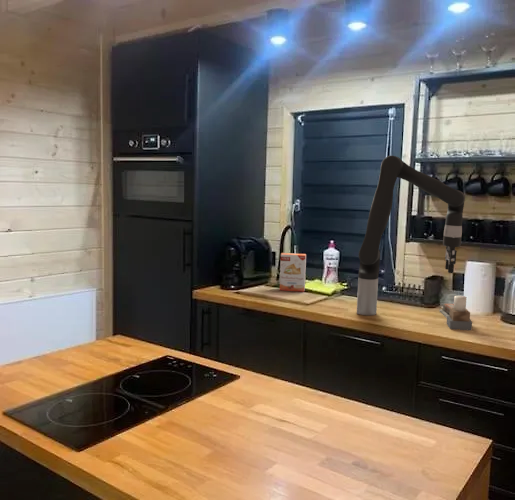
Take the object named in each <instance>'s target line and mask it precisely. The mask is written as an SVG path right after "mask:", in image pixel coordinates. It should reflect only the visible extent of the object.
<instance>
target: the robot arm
mask: <svg viewBox="0 0 515 500" xmlns="http://www.w3.org/2000/svg"><path fill="white" fill-rule="evenodd" d="M380 164H381V165H380V172H379V176H378V177H379V178H378V181H377V182H378V183H377V187H376V189H375V193H374V195H373V199H372V202H371V206H370V210H369V214H368V219H367V223H366V230H365V231H366V232H365V235H364V239H363V241H362V244H361V246H360V249H359V251H358V260H359V268H358V274H357V275H358V276H357V278H358V281H357V294H356V295H357V296H356V297H357V299H356V314H357V315H362V316H375V315H377V308H378V287H379V272H380V263H381V261H380V260H381V252H380V244H381V240H382V236H383V234H384V232H385V230H386V227H387V225H388V222H389V219H390V215H391V213H392V209H393V208H392V207H393V202H394V189H395V185H396V182H397V180H398V179H397V178H399V179H401V180H404V181H406V182H408V183H410V184H412V185H413V186H415V187H417V188H418V189H420V190H422V191H423V192H425V193H427V194H429V195H431V196H432V197H434V198H437V199H439V200H441V201H442V202H444V203H446V204H447V212H446V214H445V215H446V216H445V224H444V228H443V229H444V230H443V237H442V239H443V240H442V245H443V247H445V256H444V260H445V264H444V265H445V266H444V268H445V270H446V271H447V273H448V274H454V269H455V265H456V263H457V262H456V260H457V250H456V248H460V247H461V245H462V233H463V219H464V218H463V216H464V215H463V212H464V207H465V201H466V197H465V196H466V195H465V193H463V192H462V191H461V190H457V189H455V188H452V187H451V186H449V185H446V184H445V182H442V181H440V180H438V179H437V178H434V177H432V176H430V175H428V174H426V173H424V172H422V171H419V170H417V169H415V168H414V167H411V166H410V165H409V164H407V162H404V161H403V160H402V159H401V158H400V157H398V156H396V155H388V156H386V157H384V158H383V160H382V161H381V163H380Z"/></svg>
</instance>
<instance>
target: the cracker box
mask: <svg viewBox="0 0 515 500" xmlns="http://www.w3.org/2000/svg"><path fill="white" fill-rule="evenodd" d="M306 266H307V254H306V253H292V252H291V253H289V252H281V253H280V266H279V268H280V269H279V271H280V272H279V291H287V292H288V291H289V292H300V293H301V292H302V293H304V292H305V290H306V270H307V269H306V268H307V267H306Z"/></svg>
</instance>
